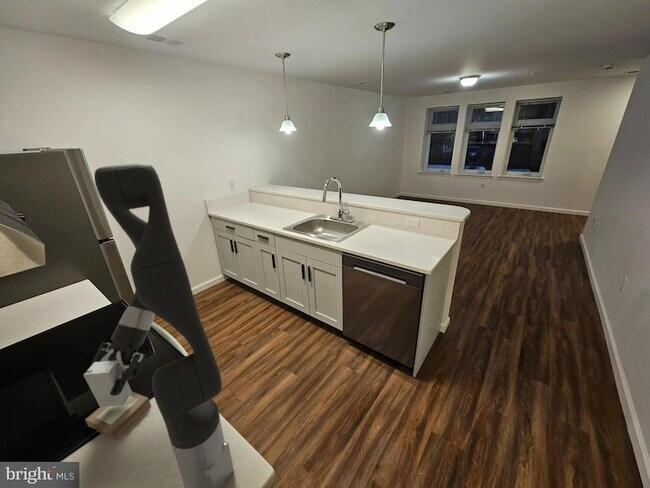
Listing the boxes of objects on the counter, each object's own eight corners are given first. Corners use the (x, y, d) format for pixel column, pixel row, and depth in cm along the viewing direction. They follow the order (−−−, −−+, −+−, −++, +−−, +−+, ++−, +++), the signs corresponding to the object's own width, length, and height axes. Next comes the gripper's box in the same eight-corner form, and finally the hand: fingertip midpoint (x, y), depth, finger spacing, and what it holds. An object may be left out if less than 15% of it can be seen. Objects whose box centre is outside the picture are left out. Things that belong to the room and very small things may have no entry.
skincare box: (132, 391, 74) (120, 358, 70) (123, 407, 70) (109, 372, 65) (109, 393, 74) (95, 360, 69) (98, 409, 69) (82, 374, 65)
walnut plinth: (150, 405, 76) (148, 397, 75) (115, 440, 68) (112, 431, 67) (125, 395, 79) (122, 387, 78) (88, 427, 71) (85, 419, 69)
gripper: (103, 318, 73) (69, 383, 67) (142, 329, 69) (109, 400, 63) (127, 322, 80) (98, 382, 74) (164, 332, 75) (136, 397, 69)
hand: (103, 390), depth 68 cm, fingers closed on skincare box, 7 cm apart
